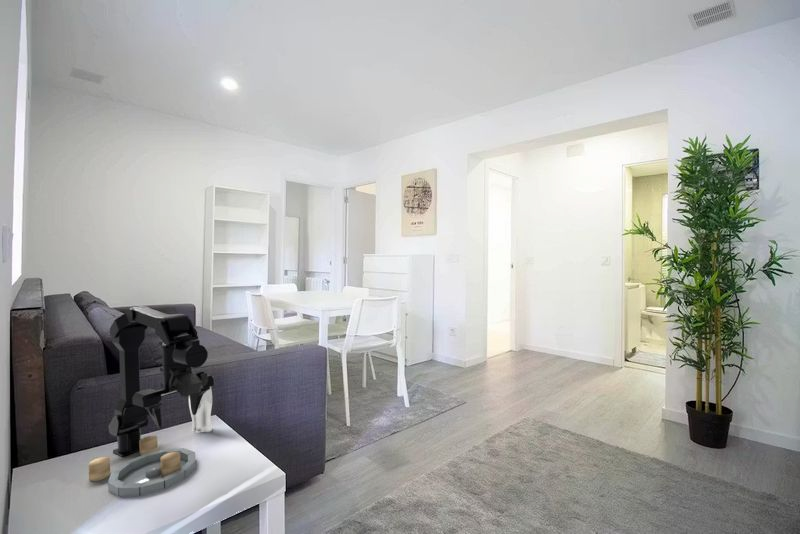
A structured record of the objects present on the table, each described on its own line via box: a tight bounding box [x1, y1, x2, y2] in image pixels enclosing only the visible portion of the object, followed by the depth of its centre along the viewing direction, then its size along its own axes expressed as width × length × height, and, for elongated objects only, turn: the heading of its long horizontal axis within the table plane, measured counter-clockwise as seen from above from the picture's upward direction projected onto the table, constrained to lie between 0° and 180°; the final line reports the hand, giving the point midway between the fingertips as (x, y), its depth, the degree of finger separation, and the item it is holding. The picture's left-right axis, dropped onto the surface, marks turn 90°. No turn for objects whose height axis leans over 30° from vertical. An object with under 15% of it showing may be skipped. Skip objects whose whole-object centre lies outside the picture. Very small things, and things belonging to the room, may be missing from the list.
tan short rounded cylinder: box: [161, 452, 181, 478], centre depth 100 cm, size 4×4×5 cm
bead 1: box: [88, 456, 111, 482], centre depth 100 cm, size 4×4×5 cm
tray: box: [107, 447, 197, 497], centre depth 101 cm, size 19×19×3 cm
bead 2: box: [139, 434, 159, 456], centre depth 112 cm, size 4×4×5 cm
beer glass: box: [188, 386, 213, 434], centre depth 127 cm, size 7×7×15 cm
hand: (177, 421), depth 102 cm, fingers open, 9 cm apart
